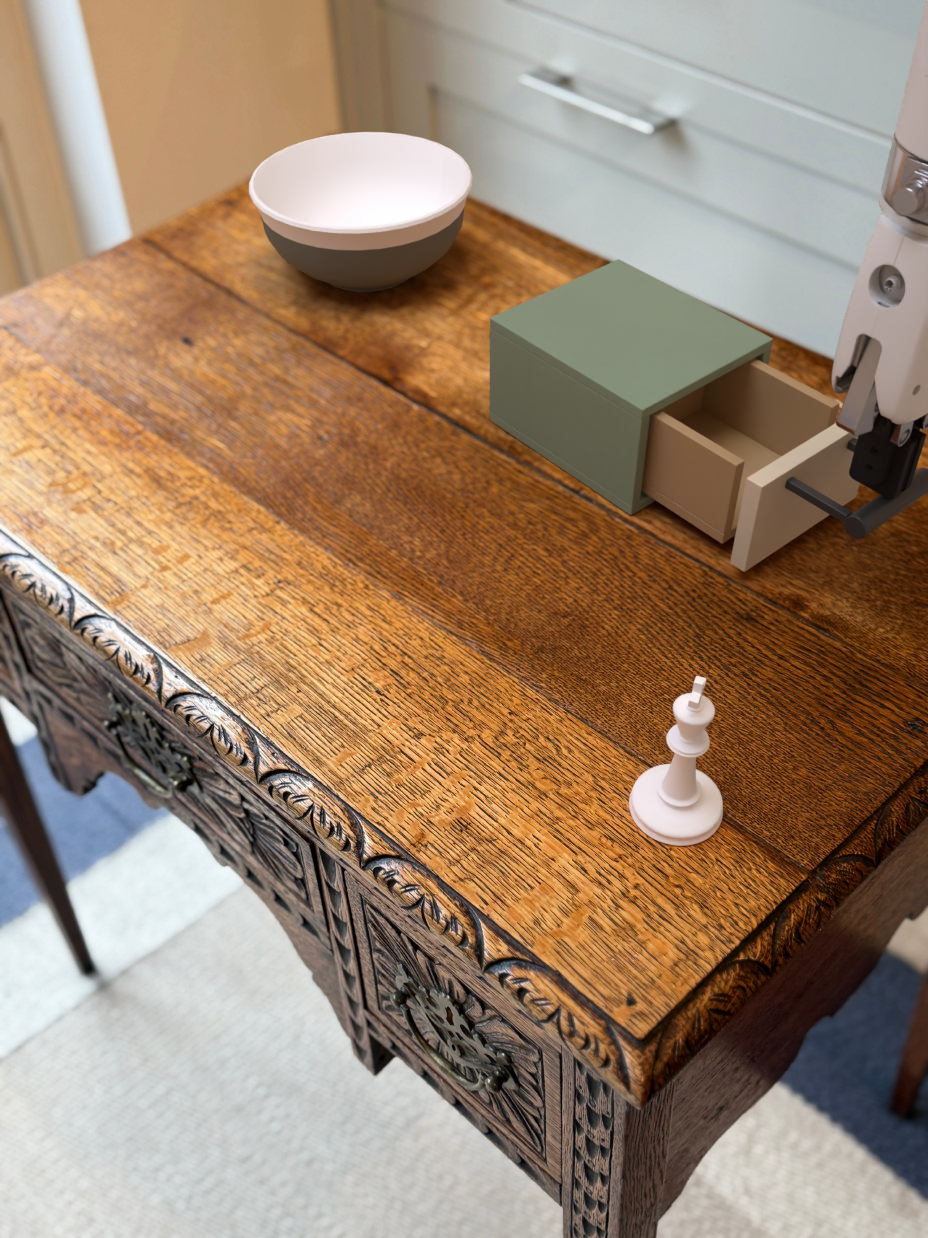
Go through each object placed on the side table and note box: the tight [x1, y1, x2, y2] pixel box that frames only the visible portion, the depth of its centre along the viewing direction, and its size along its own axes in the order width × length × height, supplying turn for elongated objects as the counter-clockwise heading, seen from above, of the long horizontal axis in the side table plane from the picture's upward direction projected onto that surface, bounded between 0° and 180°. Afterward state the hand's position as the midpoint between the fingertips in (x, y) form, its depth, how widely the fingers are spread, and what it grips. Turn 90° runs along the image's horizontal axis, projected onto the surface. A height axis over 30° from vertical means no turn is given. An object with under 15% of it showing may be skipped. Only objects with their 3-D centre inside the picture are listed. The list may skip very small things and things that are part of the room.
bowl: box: [248, 131, 474, 293], centre depth 101 cm, size 19×19×8 cm
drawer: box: [641, 358, 928, 573], centre depth 76 cm, size 19×11×7 cm, turn 40°
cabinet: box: [489, 259, 774, 516], centre depth 83 cm, size 15×13×9 cm
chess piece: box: [628, 675, 724, 847], centre depth 59 cm, size 5×5×10 cm
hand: (878, 482), depth 70 cm, fingers closed
